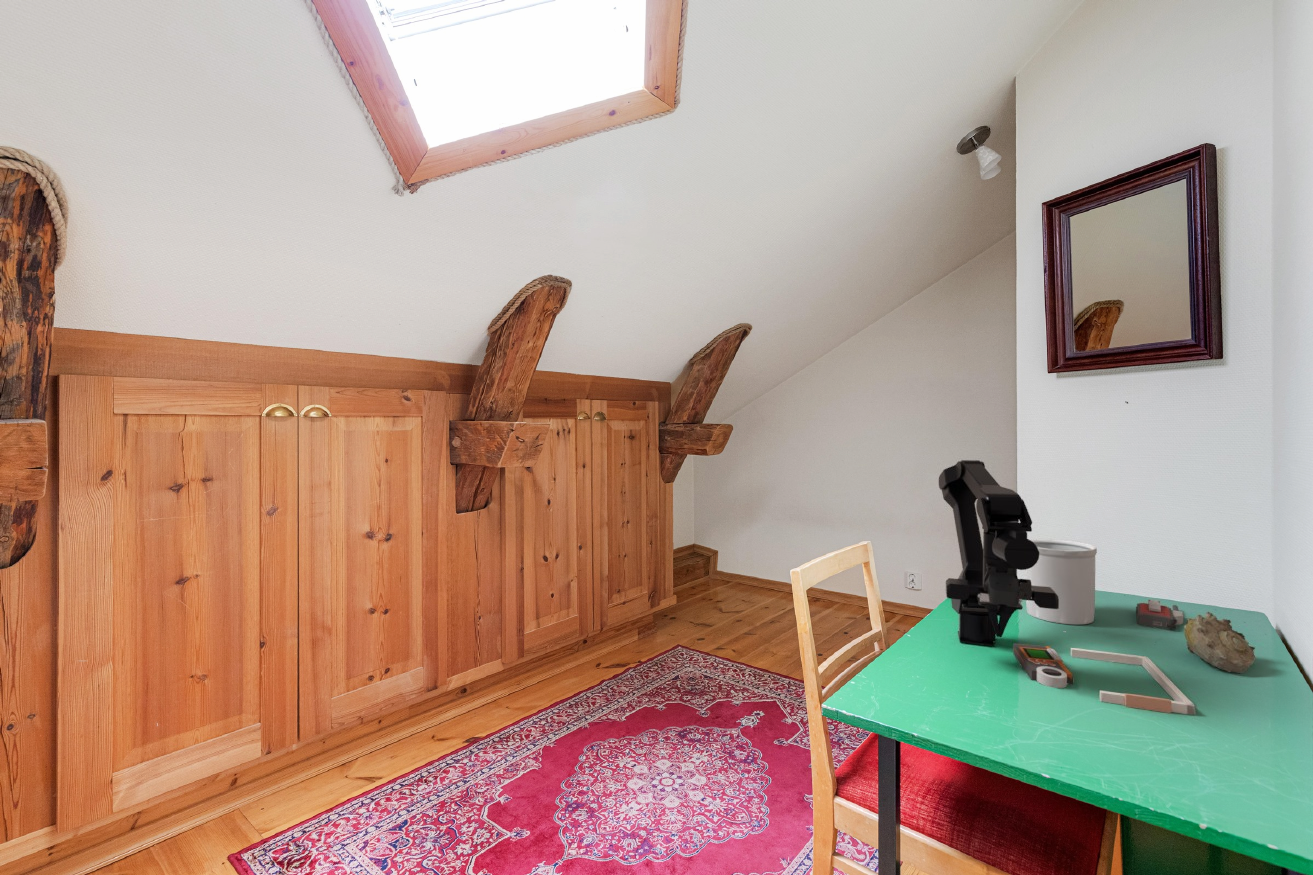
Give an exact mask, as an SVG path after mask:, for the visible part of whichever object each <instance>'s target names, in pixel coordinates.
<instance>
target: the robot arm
mask: <svg viewBox="0 0 1313 875" xmlns="http://www.w3.org/2000/svg"><path fill="white" fill-rule="evenodd" d="M938 488H939V490H940V491H941V493H942V494H941V495H942V498H943V500H944V501H945V502H946V504H948V506H950V507H951V509H952V511H953V518H954V525H955V530H956V537H957V542H958V548H959V554H960V560H961V567H962V570H961V572H960V574H959V575H958V578H952V577H951V578H950V577H949V578H947V579H946V580H945V594H946V596H945V597H946V598H947V599H950V600H951V608H952V610H954V611H955V612H956V613H957V614H958V631H957V636H958V641H959V642H960V643H963V644H971V645H976V646H977V645H978V646H987V647H994V646H995V643H994V642H996V638H1002V637H1003V635H1004V633H1005V629H1006V628H1007V626H1008V624H1009V620H1010V618H1011V617H1012V616H1013V614H1014V613H1015V612H1016V611H1017V610H1018V611H1019V610H1023V609H1024V607H1023V604H1022V602H1023V601H1026V600H1030V601H1034V603H1035V604H1036V605H1037V606H1038V607H1040V608H1049V609H1059V598H1058V595H1057V594H1056V593H1055V592H1054V590H1053V589H1052V588H1051V587H1043V586H1032V585H1031V580H1029V579H1025V578H1019V577H1018V575H1017V574H1018V573H1017V570H1020V571H1025V570H1026V569H1029V568H1031V567H1033V566H1034V565H1035V564H1036V563H1037V561H1038V559H1039V551H1038V548H1037V546H1036V545H1035V544H1034V543H1033V542H1032V541H1031V540H1032V539H1029V538H1028V532H1029V533H1031V532H1032V531H1033V528H1032V524H1033V520H1032V518H1031V516H1030V513H1029V510H1028V508H1027V505H1026V503H1025V501H1024V500H1023V498H1022V497H1021V495H1020V494H1019V493H1018V492H1016V491H1015V490H1013V489H1011V488H1007V487H1005V486H1004V487H1003V486H1002V485H1000V484H999V483H998V482H997V479H995V478H994V477H993V476H992V474H991V472H989V471H988V470H987V468H986V466H985V462H984V461H982V460H981V461H980V460H979V459H978V460H976V459H975V460H974V459H972V460H969V459H966V460H965V459H964V460H963V459H961V460H960V461H959V460H958V461H957V462H956V464H954V465H952V466H950V467H947V468H944V469H943V470H942V472H941V473H940V475H939V476H938ZM975 503H976V504H975ZM978 518H979V520H978ZM979 521H980V523H981V525H982V526H981V528H982V530H983V532H982V533H983V534H982V536H983V538H982V536H981V531H980V524H979ZM982 539H983V541H982Z"/></svg>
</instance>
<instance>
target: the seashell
mask: <svg viewBox="0 0 1313 875" xmlns="http://www.w3.org/2000/svg"><path fill="white" fill-rule="evenodd" d="M1187 621H1188V622H1187V624H1185V625H1184V637H1185V638H1184V639H1185V640H1186V641H1187V642H1186V646H1187V650H1188V651H1189V652H1190V653H1192V654H1195V655H1197V656H1198V657H1199V658H1201V660H1203V661H1204V662H1206V663H1209V664H1210V665H1211V666H1213V667H1215V668H1218V669H1219V670H1222V671H1225V672H1228V673H1230V672H1232V673H1237V674H1244V672H1246V671H1247V670H1249V668H1250V667H1251V666H1252V665H1254V662H1255V661H1256V658H1255V657H1256V656H1255V652H1254V650H1255V649H1256V647H1254V646H1250V645H1249V644H1250V643H1249V641H1248V640H1246V638H1245V637H1246V636H1245V635H1244V634H1243V633H1242V632H1238V631H1237V630H1234V629H1233V626H1232V624H1231V623H1232V621H1231V619H1227V618H1223V619H1218V618H1217V616H1216V615H1214V614H1213V613H1212V612H1210V611H1206V612H1205V616H1202V615H1201V614H1198V615H1197V617H1196V618H1190V617H1189V618H1187Z"/></svg>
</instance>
